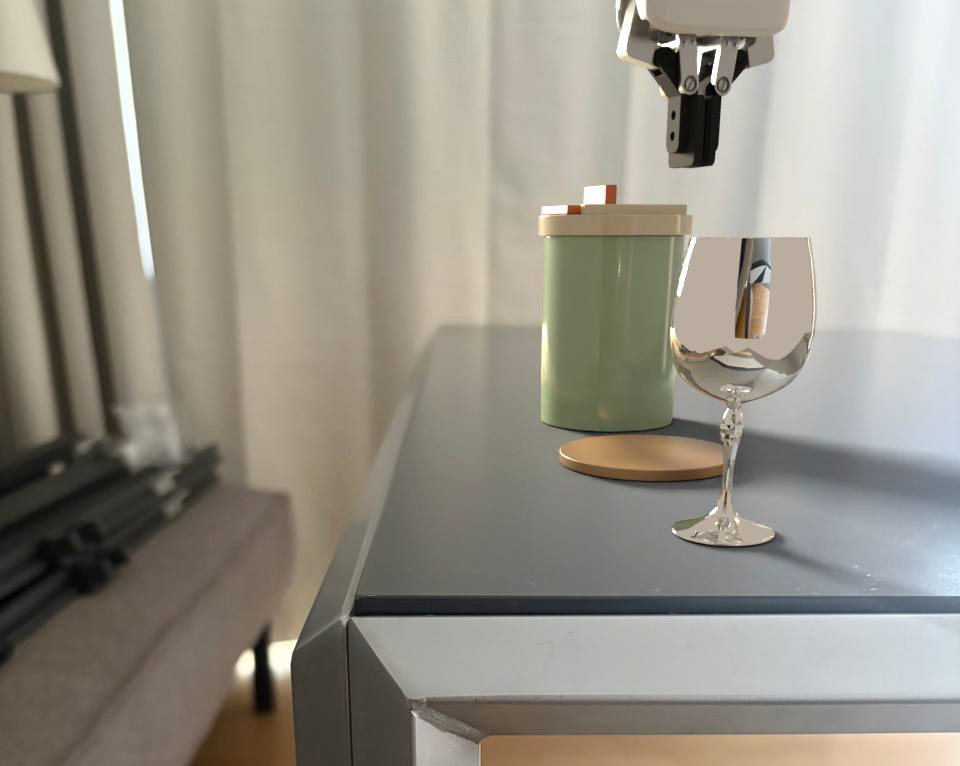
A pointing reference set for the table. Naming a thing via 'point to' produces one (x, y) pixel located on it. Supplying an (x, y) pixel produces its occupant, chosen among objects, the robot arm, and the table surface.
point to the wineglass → (740, 346)
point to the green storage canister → (610, 315)
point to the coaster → (644, 457)
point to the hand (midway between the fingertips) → (691, 166)
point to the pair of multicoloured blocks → (585, 200)
